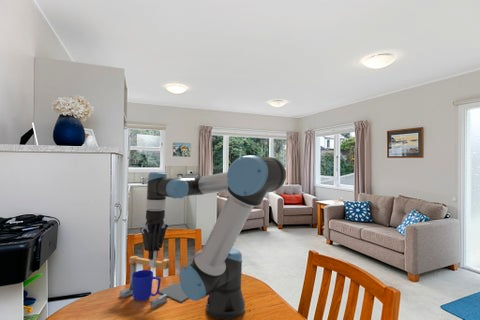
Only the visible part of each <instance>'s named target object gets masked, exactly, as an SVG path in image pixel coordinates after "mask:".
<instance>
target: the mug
mask: <svg viewBox="0 0 480 320" xmlns="http://www.w3.org/2000/svg"><path fill="white" fill-rule="evenodd" d="M153 280H156V281H157V282H158V283H157V289H156V292H155V293H153V292H152V289H153ZM161 281H162V278H161V277H160V276H159V277H158V276H154V271H152V270H149V269H141V270H140V269H139V270H138V271H137V270H136V272H135V273H133V275H132V283H133V294H132V298H133V300H134V301H136V302H143V301H147V300H149V298H150V297H157V295H158V294H159V293H158V292H159V291H160V290H161V289H160V288H161Z"/></svg>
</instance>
